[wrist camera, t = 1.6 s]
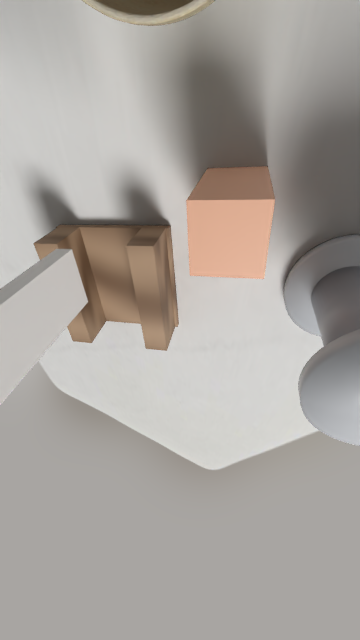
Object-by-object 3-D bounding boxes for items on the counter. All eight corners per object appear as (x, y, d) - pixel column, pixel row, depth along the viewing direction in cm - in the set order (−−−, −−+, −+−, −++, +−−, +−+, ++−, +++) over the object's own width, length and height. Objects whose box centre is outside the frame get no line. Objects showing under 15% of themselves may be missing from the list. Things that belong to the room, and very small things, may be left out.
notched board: (59, 224, 24) (30, 243, 21) (170, 225, 22) (156, 246, 19) (89, 315, 30) (70, 340, 27) (178, 323, 28) (169, 350, 25)
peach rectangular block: (207, 168, 19) (186, 200, 13) (267, 166, 18) (275, 199, 12) (207, 225, 22) (189, 275, 15) (260, 226, 21) (264, 278, 15)
